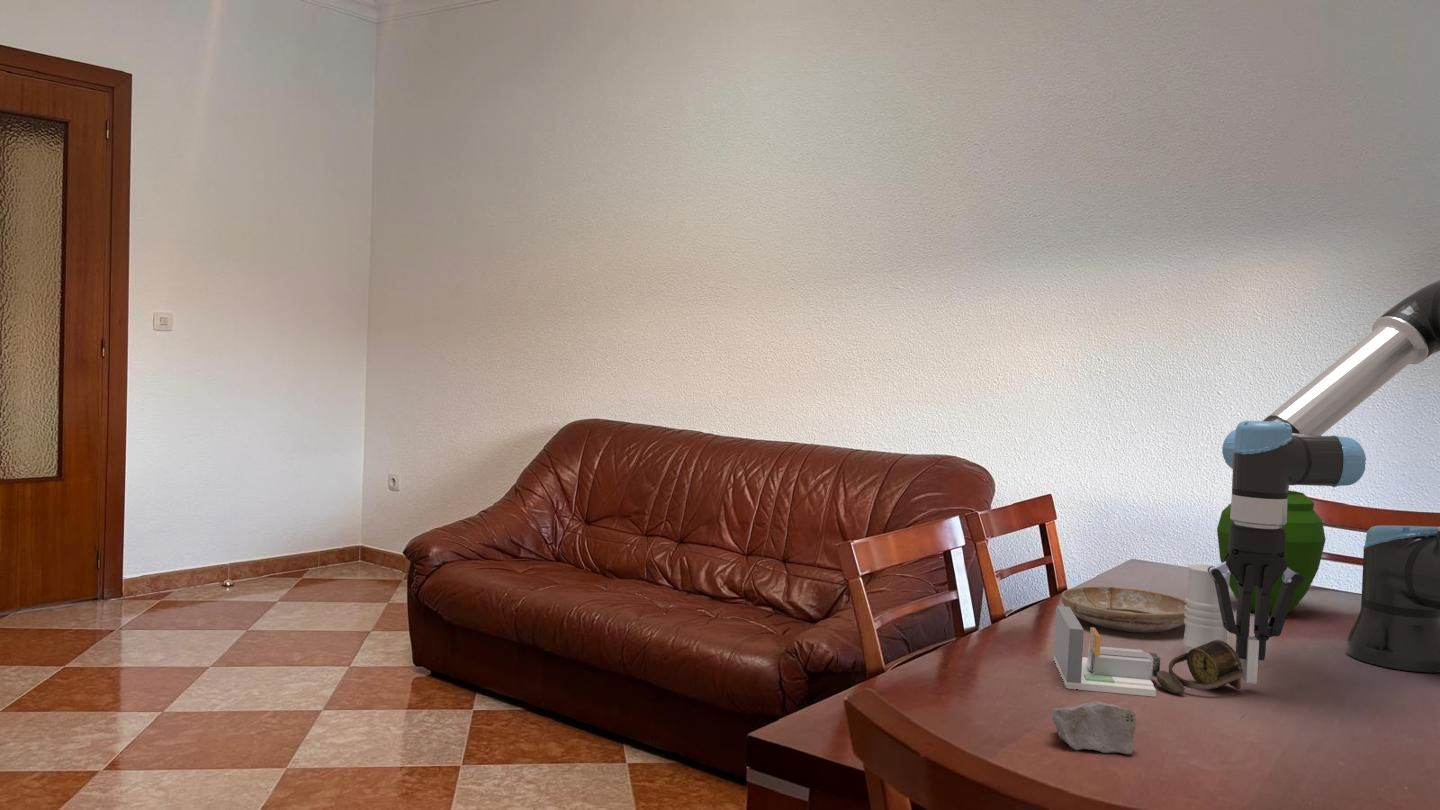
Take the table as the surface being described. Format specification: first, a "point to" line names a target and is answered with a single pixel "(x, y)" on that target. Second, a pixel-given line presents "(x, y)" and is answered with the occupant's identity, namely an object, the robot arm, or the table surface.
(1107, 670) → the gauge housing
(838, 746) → the table surface
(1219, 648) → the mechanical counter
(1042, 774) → the table surface
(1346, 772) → the table surface
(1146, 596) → the ceramic bowl
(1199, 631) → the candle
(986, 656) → the table surface
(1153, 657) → the grey metal bar
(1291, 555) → the vase
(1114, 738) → the stone
